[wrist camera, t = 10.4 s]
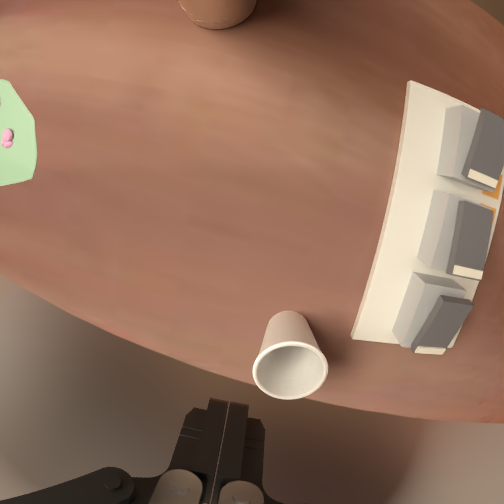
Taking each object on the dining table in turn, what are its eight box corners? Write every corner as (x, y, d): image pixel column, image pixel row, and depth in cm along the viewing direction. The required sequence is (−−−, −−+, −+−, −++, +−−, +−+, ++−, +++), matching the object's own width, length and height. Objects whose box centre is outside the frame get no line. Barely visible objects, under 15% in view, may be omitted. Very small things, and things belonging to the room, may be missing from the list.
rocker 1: (440, 294, 31) (444, 302, 30) (469, 299, 31) (474, 307, 30) (410, 345, 35) (413, 353, 34) (439, 347, 35) (442, 355, 34)
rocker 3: (458, 200, 30) (465, 200, 28) (488, 210, 29) (494, 211, 28) (445, 273, 31) (452, 275, 29) (475, 279, 31) (481, 281, 29)
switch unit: (407, 82, 32) (428, 71, 26) (506, 127, 31) (532, 126, 25) (350, 334, 42) (360, 360, 36) (448, 344, 42) (465, 365, 36)
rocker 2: (481, 107, 24) (488, 110, 23) (510, 123, 24) (517, 126, 23) (461, 173, 29) (466, 178, 28) (490, 185, 29) (495, 190, 28)
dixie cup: (248, 342, 43) (242, 388, 34) (271, 292, 41) (270, 332, 31) (302, 360, 44) (307, 407, 34) (328, 313, 41) (341, 355, 32)
